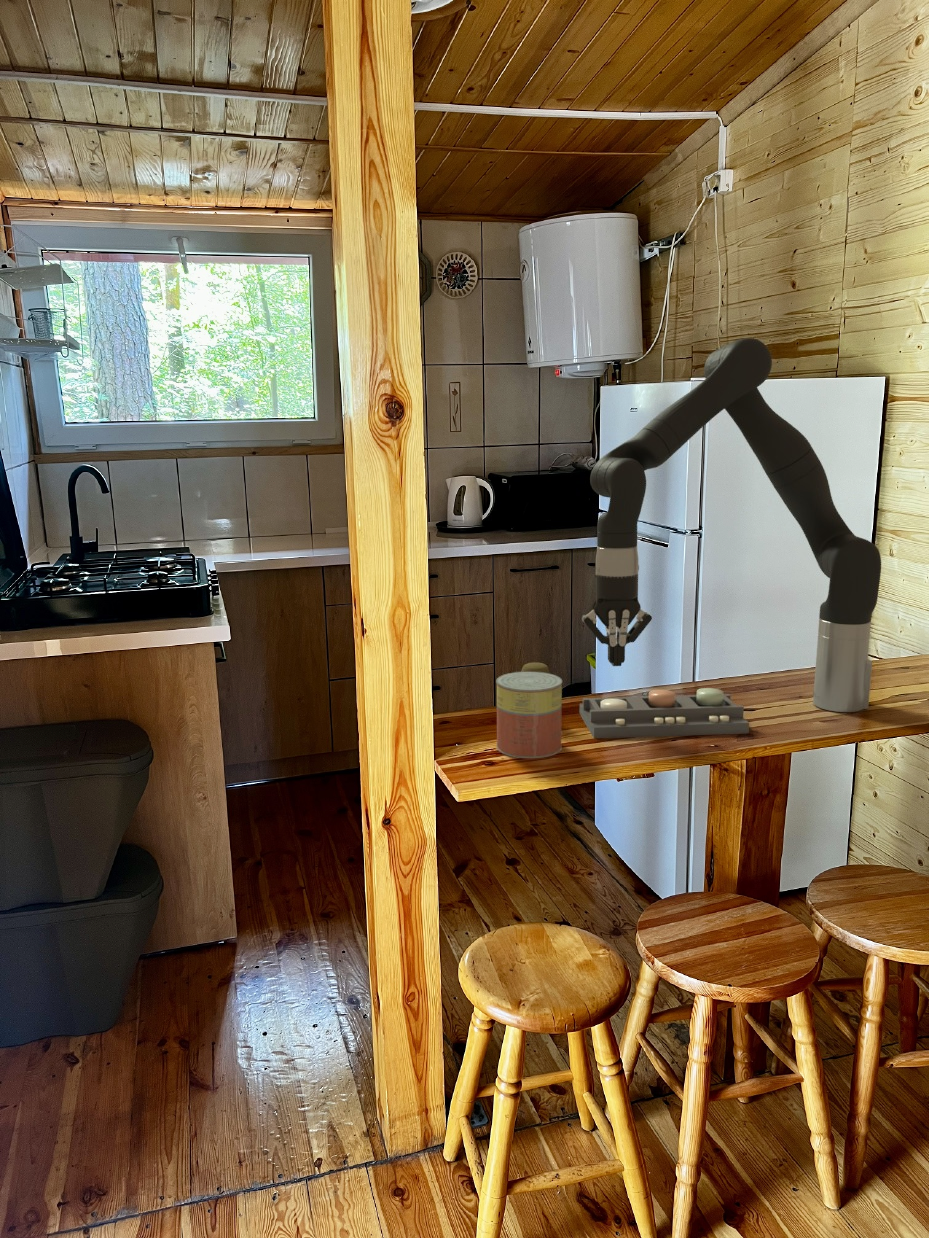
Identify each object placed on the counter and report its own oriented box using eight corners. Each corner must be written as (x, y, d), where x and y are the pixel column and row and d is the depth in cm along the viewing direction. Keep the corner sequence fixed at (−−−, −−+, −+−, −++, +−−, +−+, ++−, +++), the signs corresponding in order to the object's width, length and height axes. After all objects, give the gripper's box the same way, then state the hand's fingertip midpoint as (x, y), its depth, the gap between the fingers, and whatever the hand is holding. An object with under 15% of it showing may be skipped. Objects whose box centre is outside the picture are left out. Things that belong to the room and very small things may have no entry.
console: (722, 709, 179) (723, 689, 179) (748, 733, 166) (749, 712, 165) (579, 713, 178) (579, 693, 177) (593, 738, 164) (594, 716, 163)
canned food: (530, 731, 168) (531, 667, 166) (575, 748, 160) (576, 681, 157) (483, 745, 161) (482, 679, 159) (526, 763, 153) (526, 694, 150)
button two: (718, 697, 174) (718, 687, 174) (726, 705, 169) (727, 695, 169) (692, 698, 174) (693, 688, 173) (700, 706, 169) (701, 695, 169)
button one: (623, 708, 173) (623, 698, 173) (629, 716, 169) (629, 706, 168) (597, 709, 173) (598, 699, 172) (603, 717, 168) (603, 706, 168)
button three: (670, 699, 173) (671, 689, 173) (678, 707, 169) (678, 696, 168) (645, 700, 173) (646, 689, 173) (652, 707, 168) (652, 697, 168)
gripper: (648, 566, 169) (646, 658, 173) (576, 569, 168) (576, 661, 172) (659, 573, 162) (657, 669, 165) (584, 576, 161) (584, 672, 164)
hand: (616, 665), depth 169 cm, fingers closed
